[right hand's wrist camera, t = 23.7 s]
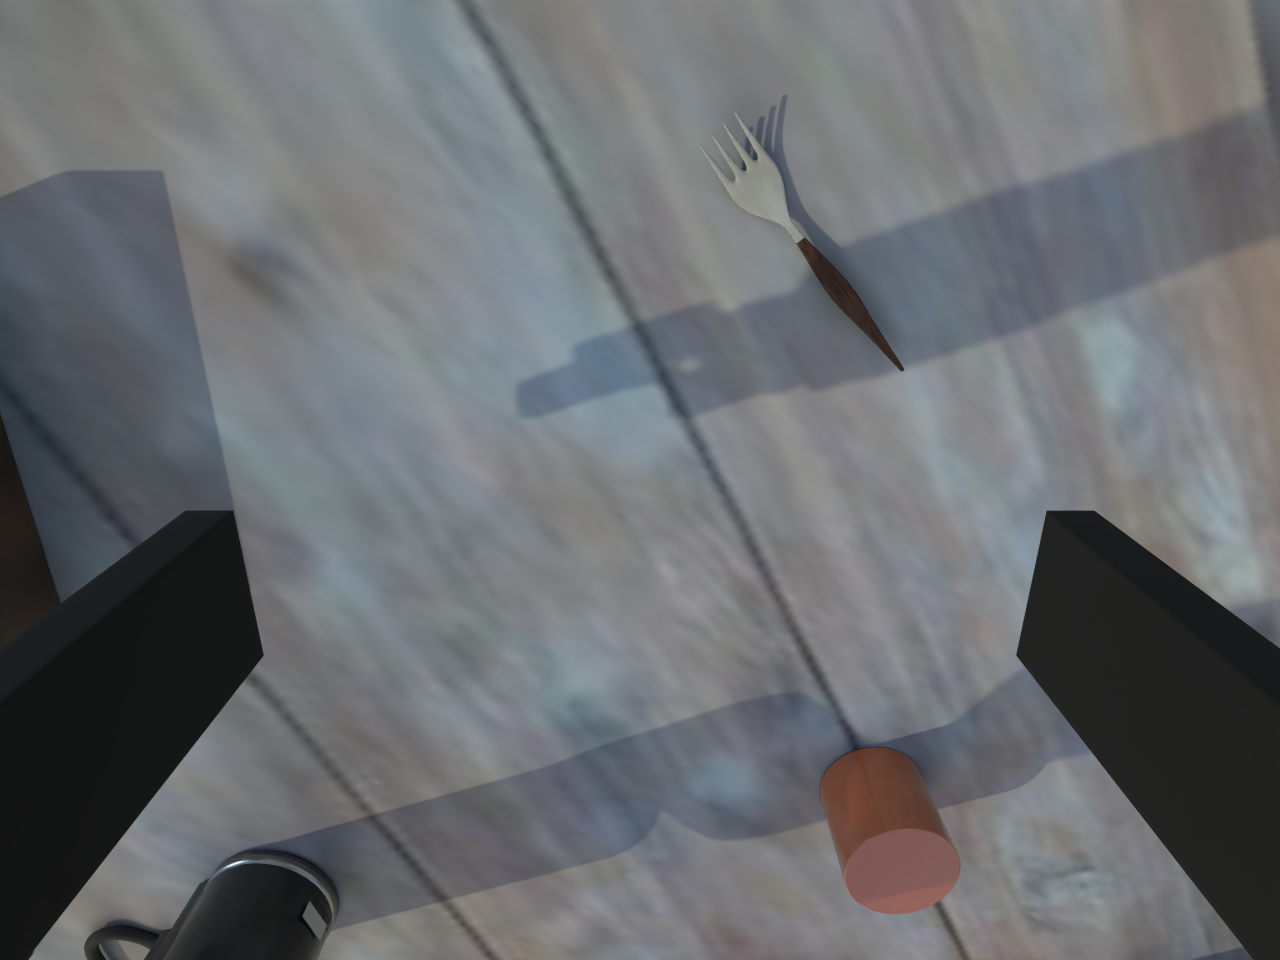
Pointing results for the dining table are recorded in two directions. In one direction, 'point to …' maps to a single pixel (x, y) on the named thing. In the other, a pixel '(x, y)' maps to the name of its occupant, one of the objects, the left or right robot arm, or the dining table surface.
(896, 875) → the orange clay cylinder
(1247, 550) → the dining table surface
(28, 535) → the walnut box
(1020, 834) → the dining table surface
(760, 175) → the fork
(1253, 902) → the right robot arm
